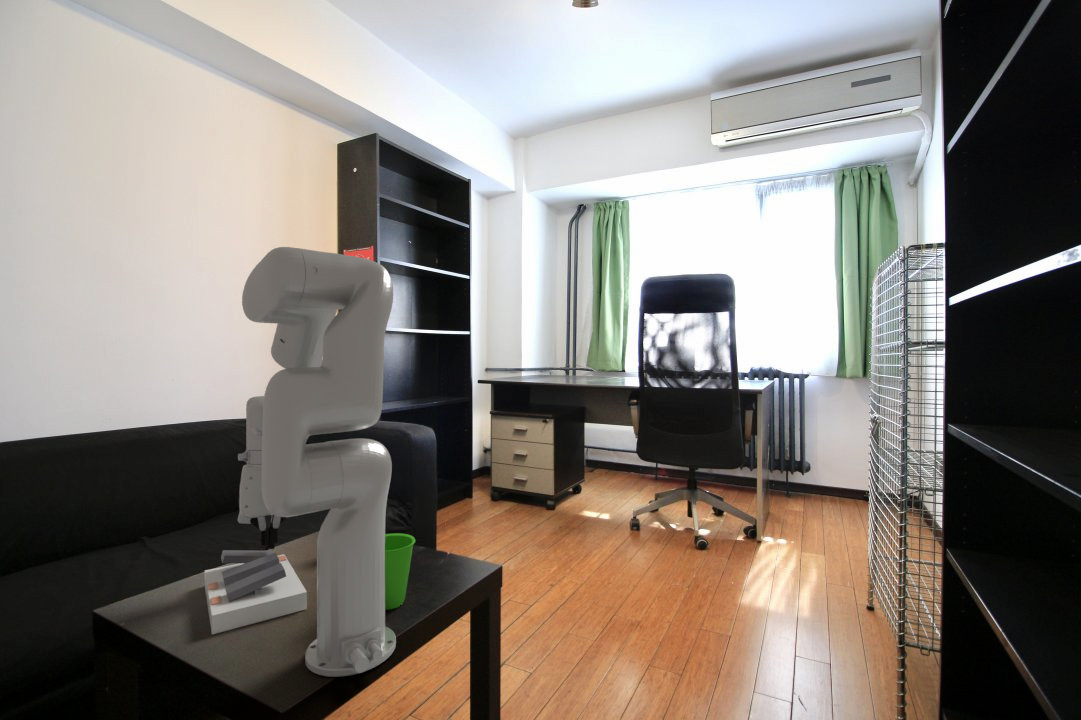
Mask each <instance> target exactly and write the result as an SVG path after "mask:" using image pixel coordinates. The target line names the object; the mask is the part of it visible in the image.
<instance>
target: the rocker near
mask: <svg viewBox="0 0 1081 720" xmlns="http://www.w3.org/2000/svg"><path fill="white" fill-rule="evenodd" d="M284 577H286V573H285V570H284V568H283V566H282V564H281V563H279V564H277V565H275V566H272V567H270V568H268V569H265V570H263V571H261V572H258V573H256V574H254V575H251V576H249V577H246V578H244V579H242V580H239V581H237V582H235V583H232V584H230V585H228V586H225V590H226V594H227V597H228V601H229V602H230V601H232V600H234V599H237V598H239V597H241V596H243V595H246V594H248V593H250V592H252V591H255V590H257V589H259V588H261V587H264V586H266V585H268V584H270V583H273V582H275V581H277V580H279V579H282V578H284Z"/></svg>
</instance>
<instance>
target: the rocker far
mask: <svg viewBox="0 0 1081 720" xmlns="http://www.w3.org/2000/svg"><path fill="white" fill-rule="evenodd" d="M273 553H275V552H274V550H266V551H265V550H248V549H247V550H246V549H245V550H241V549H238V550H235V549H233V550H232V549H230V550H228V549H225V550H224V549H223V550H222V552H221V556H220V559H221V560H220V561H221V563H222V564H239V563H248V562H251V561H253V560H256V559H259V558H262V557H265V556H267V555H270V554H273Z"/></svg>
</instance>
